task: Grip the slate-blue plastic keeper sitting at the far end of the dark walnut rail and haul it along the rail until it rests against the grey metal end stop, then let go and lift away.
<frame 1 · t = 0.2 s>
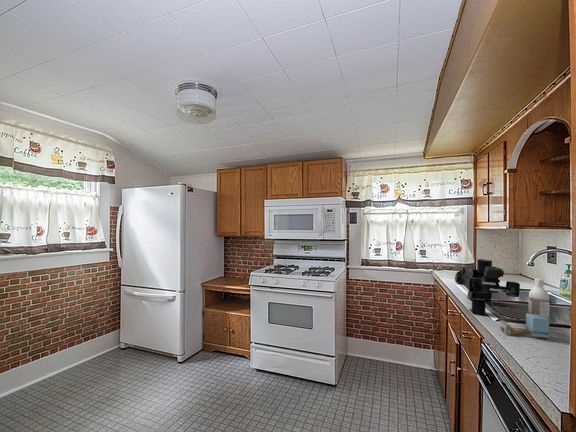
hand: (501, 292, 113), 17 cm above the countertop, tool horizontal, fingers open, 9 cm apart
keeper: (537, 325, 110), point 5 cm above the countertop, slide at 0.0 cm
rail: (523, 334, 111), on the countertop
bath foam: (538, 323, 125), on the countertop
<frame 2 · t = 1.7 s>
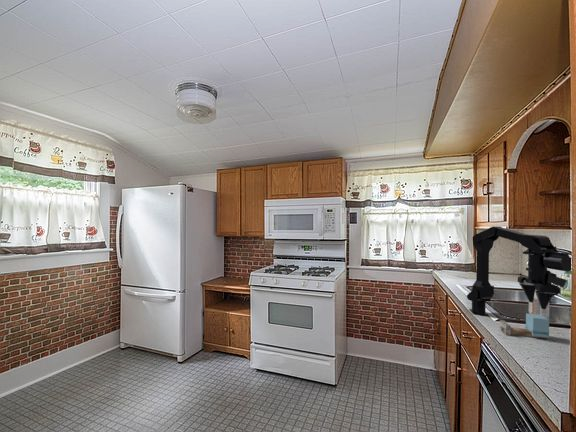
hand: (537, 305, 110), 12 cm above the countertop, tool pointing down, fingers open, 9 cm apart
nothing on the countertop moved.
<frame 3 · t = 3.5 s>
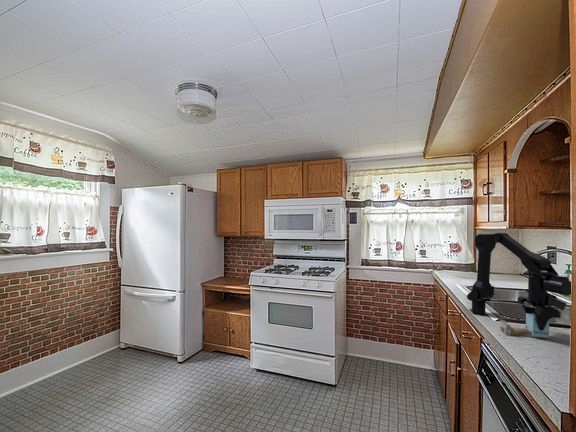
hand: (537, 327, 110), 4 cm above the countertop, tool pointing down, fingers closed on keeper, 6 cm apart
keeper: (537, 325, 110), point 5 cm above the countertop, slide at 0.0 cm, touching gripper
everything else where it was.
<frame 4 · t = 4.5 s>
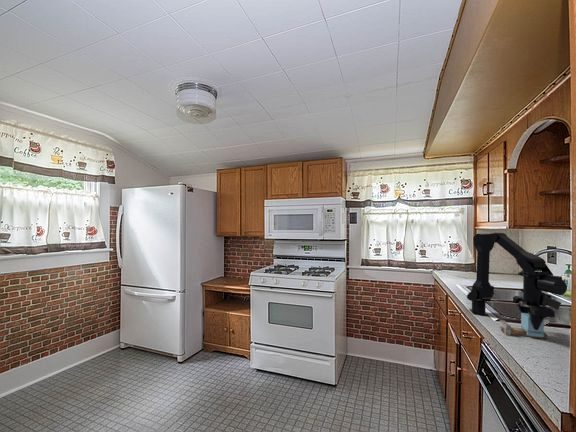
hand: (532, 326, 110), 4 cm above the countertop, tool pointing down, fingers closed on keeper, 6 cm apart
keeper: (532, 324, 110), point 5 cm above the countertop, slide at 1.6 cm, touching gripper
everything else where it was.
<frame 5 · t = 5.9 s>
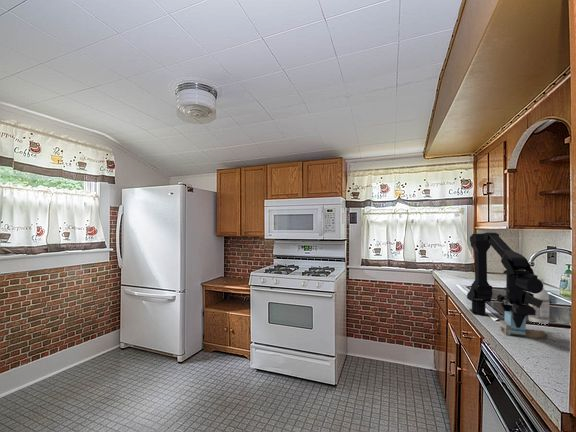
hand: (514, 324, 112), 4 cm above the countertop, tool pointing down, fingers closed on keeper, 6 cm apart
keeper: (514, 322, 112), point 5 cm above the countertop, slide at 7.4 cm, touching gripper
everything else where it was.
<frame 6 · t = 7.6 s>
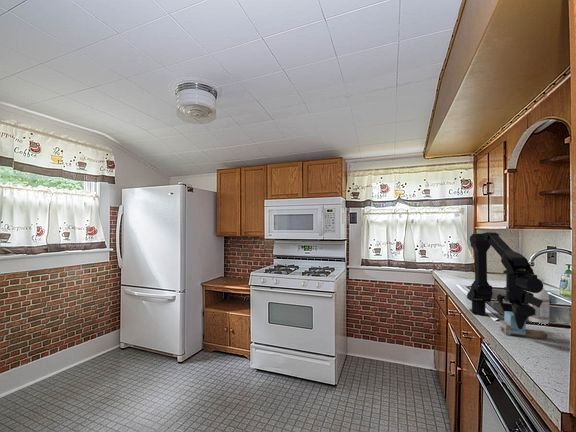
hand: (514, 324, 112), 4 cm above the countertop, tool pointing down, fingers open, 9 cm apart
keeper: (514, 322, 112), point 5 cm above the countertop, slide at 7.4 cm
everything else where it was.
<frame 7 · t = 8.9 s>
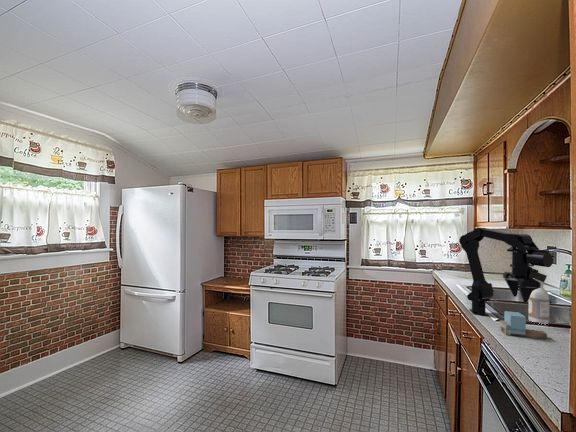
hand: (520, 299, 118), 12 cm above the countertop, tool pointing down, fingers open, 9 cm apart
nothing on the countertop moved.
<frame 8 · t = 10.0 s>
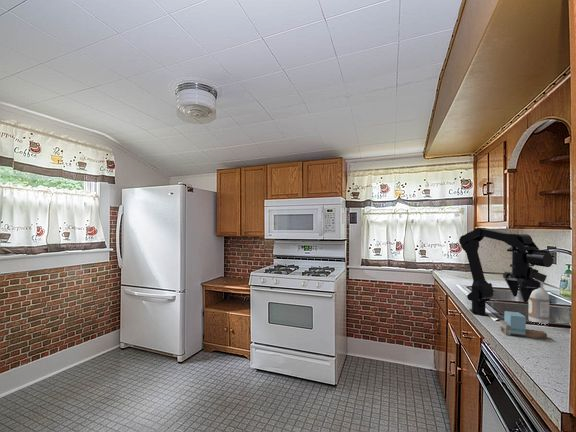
hand: (520, 299, 118), 13 cm above the countertop, tool pointing down, fingers open, 9 cm apart
nothing on the countertop moved.
at the end: keeper slide at 7.4 cm; the gripper is holding nothing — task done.
